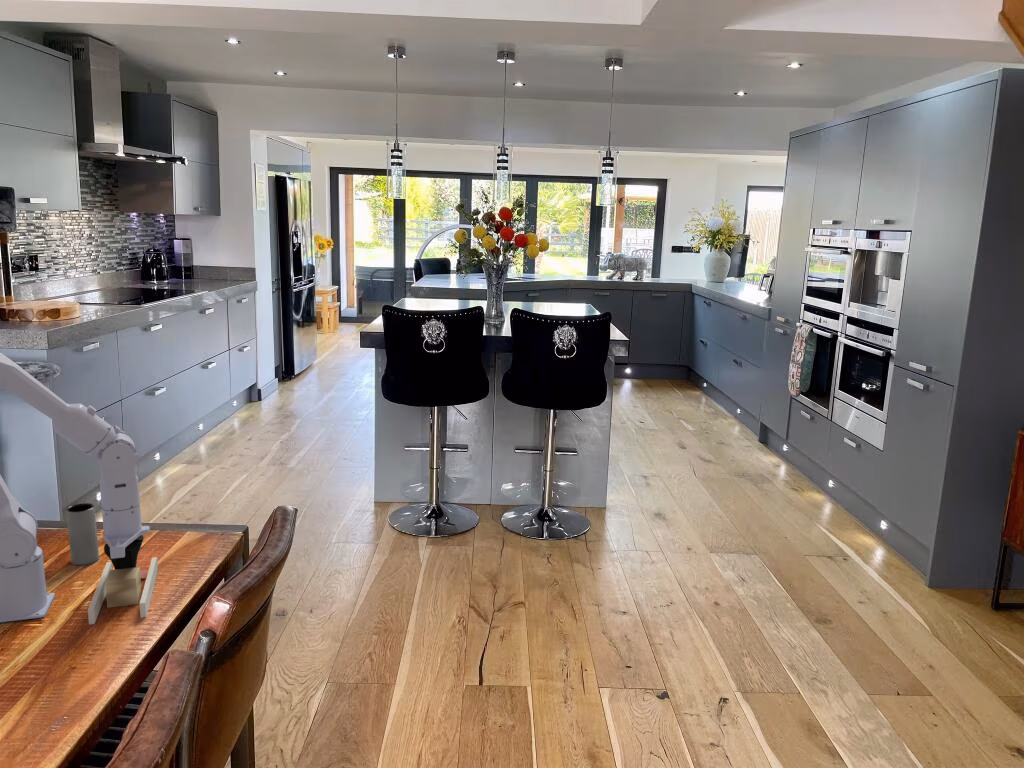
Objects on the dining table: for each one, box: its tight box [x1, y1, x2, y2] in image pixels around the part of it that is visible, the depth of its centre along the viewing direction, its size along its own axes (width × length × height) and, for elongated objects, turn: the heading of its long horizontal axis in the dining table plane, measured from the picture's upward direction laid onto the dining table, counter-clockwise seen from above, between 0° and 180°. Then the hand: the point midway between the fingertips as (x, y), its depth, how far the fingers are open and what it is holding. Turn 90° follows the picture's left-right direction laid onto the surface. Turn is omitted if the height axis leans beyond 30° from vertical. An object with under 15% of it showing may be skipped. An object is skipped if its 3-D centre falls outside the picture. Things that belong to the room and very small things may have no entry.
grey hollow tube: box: [65, 502, 100, 566], centre depth 141 cm, size 4×4×10 cm
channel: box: [87, 556, 159, 625], centre depth 129 cm, size 8×18×2 cm, turn 19°
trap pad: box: [140, 568, 149, 581], centre depth 136 cm, size 6×4×1 cm, turn 109°
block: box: [105, 566, 143, 608], centre depth 127 cm, size 4×4×4 cm
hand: (127, 580), depth 131 cm, fingers closed
